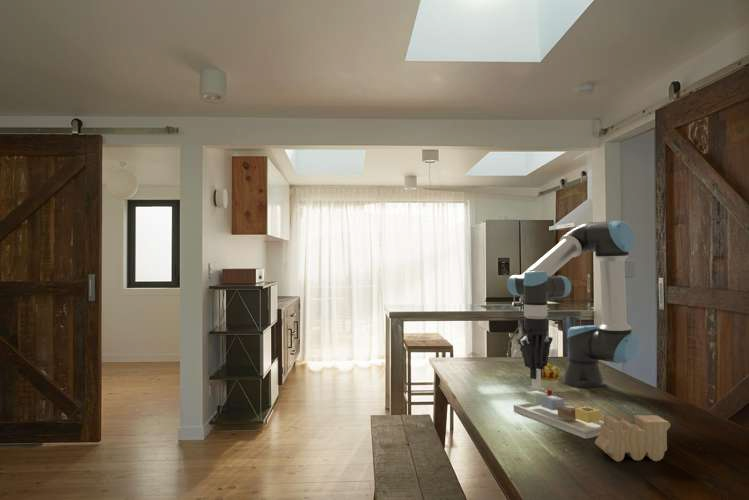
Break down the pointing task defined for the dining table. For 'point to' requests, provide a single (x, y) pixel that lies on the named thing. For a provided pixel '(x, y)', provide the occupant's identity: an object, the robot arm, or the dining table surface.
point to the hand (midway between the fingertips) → (536, 388)
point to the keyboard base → (559, 420)
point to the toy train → (634, 437)
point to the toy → (550, 378)
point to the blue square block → (551, 402)
